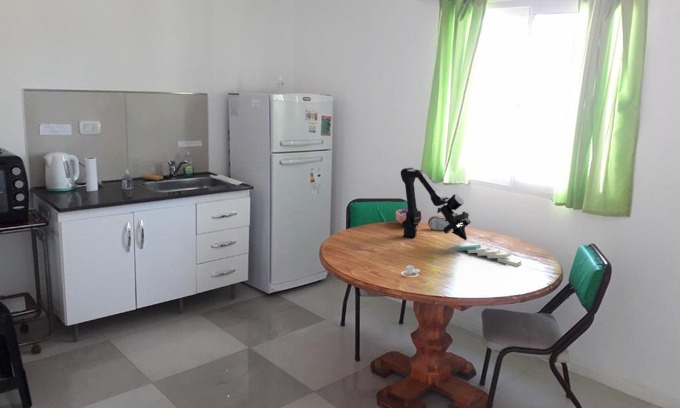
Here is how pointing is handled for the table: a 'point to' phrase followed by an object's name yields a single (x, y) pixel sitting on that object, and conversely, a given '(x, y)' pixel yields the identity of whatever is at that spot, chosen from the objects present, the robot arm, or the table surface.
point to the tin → (437, 223)
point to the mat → (475, 255)
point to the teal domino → (469, 247)
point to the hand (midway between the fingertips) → (466, 239)
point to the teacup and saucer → (411, 271)
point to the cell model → (403, 215)
